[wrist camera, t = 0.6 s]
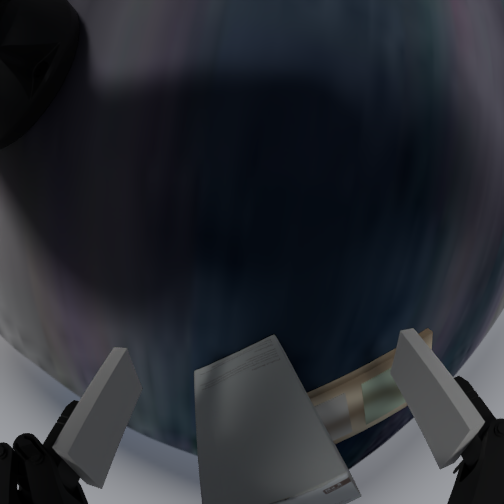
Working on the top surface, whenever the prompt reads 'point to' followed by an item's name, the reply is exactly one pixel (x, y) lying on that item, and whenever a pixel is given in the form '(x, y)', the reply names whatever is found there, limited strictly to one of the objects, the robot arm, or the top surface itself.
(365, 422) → the board
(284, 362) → the skincare box
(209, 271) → the top surface
